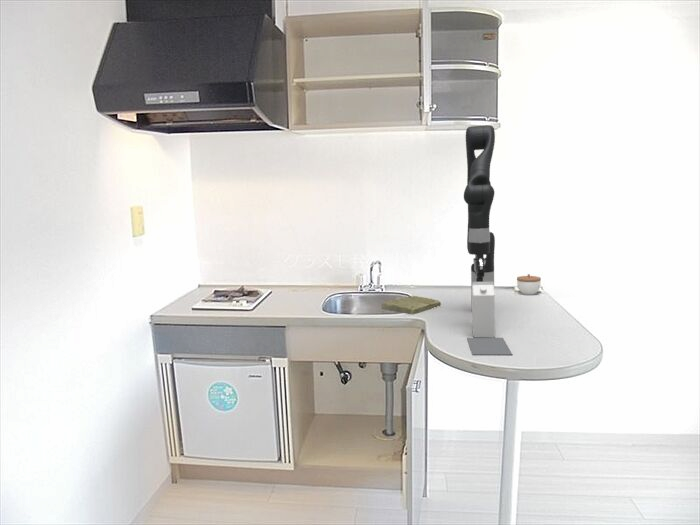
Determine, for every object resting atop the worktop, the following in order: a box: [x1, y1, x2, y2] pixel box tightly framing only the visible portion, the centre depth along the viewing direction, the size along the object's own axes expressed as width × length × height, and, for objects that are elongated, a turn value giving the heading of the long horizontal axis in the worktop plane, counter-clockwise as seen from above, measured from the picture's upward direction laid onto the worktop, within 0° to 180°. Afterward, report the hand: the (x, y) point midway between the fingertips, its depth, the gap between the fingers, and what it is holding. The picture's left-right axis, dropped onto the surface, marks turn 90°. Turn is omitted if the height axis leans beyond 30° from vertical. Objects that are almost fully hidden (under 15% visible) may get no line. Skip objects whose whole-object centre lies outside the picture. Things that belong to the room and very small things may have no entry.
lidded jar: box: [516, 273, 541, 296], centre depth 245 cm, size 11×11×9 cm
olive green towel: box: [381, 295, 442, 315], centre depth 227 cm, size 19×20×4 cm
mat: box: [466, 337, 513, 356], centre depth 167 cm, size 18×12×1 cm, turn 173°
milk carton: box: [471, 281, 496, 338], centre depth 179 cm, size 7×7×19 cm
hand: (479, 287), depth 188 cm, fingers closed
